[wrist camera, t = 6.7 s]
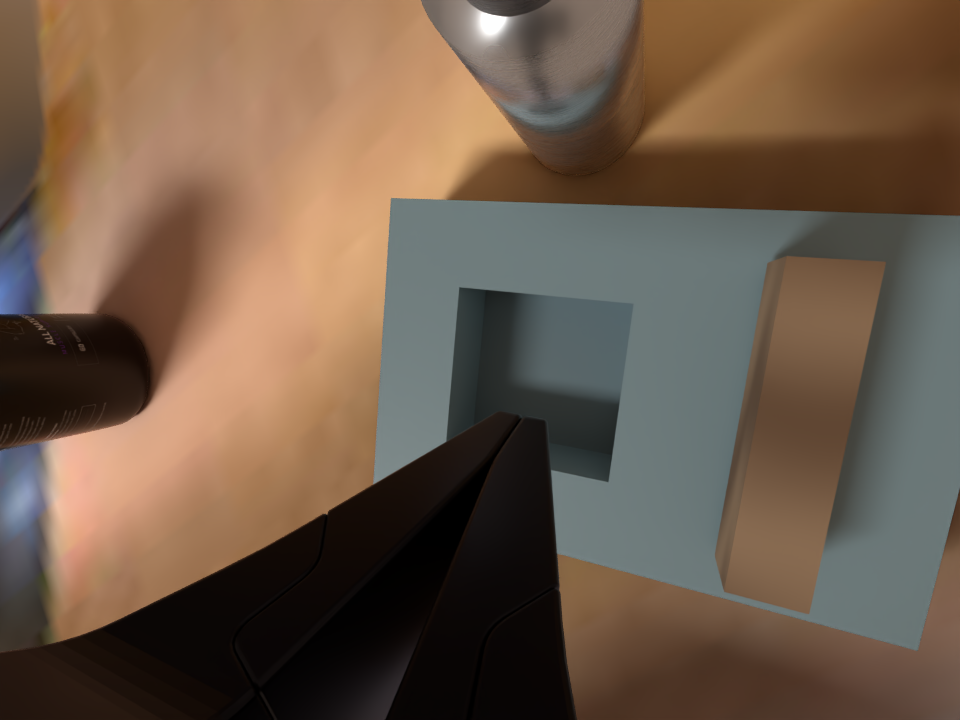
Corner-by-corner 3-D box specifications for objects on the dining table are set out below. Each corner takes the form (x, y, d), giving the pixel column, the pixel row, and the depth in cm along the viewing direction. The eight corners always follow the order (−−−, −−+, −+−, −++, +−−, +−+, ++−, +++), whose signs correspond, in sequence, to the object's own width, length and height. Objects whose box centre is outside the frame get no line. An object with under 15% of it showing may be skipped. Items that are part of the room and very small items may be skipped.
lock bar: (787, 573, 14) (809, 614, 12) (714, 555, 15) (724, 592, 13) (851, 267, 13) (886, 261, 11) (767, 262, 13) (786, 255, 12)
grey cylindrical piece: (664, 137, 17) (687, -78, 8) (549, 196, 19) (444, 84, 9) (616, 22, 17) (578, -340, 8) (506, 91, 19) (355, -133, 9)
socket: (865, 583, 17) (917, 650, 13) (412, 474, 23) (372, 503, 19) (946, 236, 15) (1030, 218, 12) (431, 214, 21) (391, 198, 17)
